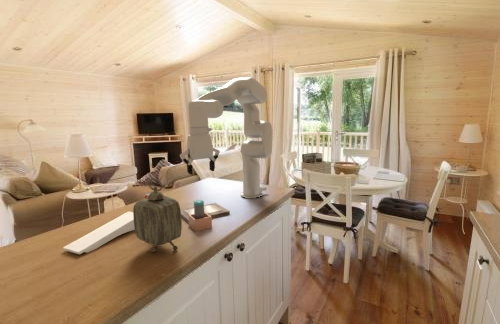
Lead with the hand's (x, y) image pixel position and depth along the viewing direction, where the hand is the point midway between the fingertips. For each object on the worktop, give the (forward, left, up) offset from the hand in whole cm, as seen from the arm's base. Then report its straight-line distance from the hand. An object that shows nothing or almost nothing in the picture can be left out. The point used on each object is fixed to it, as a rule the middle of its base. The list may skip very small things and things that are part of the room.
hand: (201, 172), depth 115 cm
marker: (+3, +3, -21) cm, 22 cm away
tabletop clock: (+23, +14, -22) cm, 35 cm away
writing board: (-4, -10, -22) cm, 24 cm away
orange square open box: (+3, +3, -22) cm, 22 cm away
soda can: (+17, -16, -22) cm, 32 cm away
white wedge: (+36, -6, -23) cm, 43 cm away
